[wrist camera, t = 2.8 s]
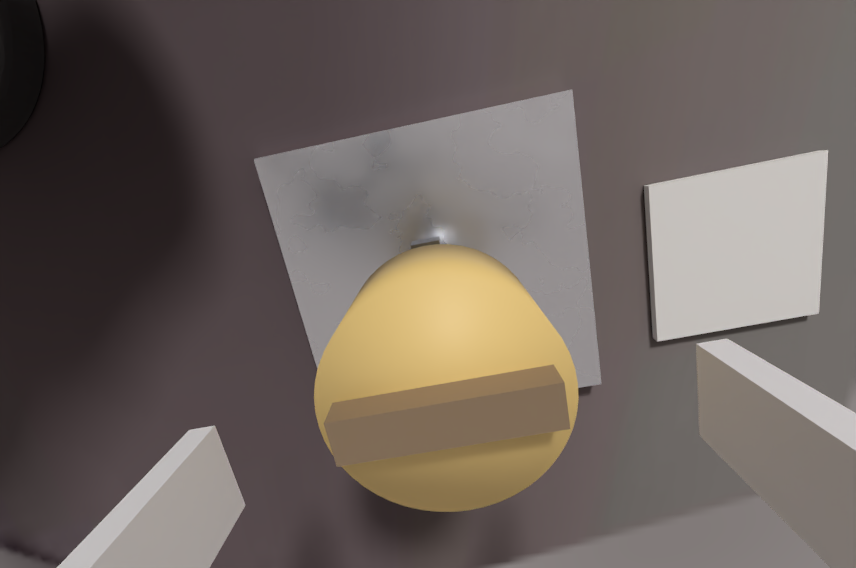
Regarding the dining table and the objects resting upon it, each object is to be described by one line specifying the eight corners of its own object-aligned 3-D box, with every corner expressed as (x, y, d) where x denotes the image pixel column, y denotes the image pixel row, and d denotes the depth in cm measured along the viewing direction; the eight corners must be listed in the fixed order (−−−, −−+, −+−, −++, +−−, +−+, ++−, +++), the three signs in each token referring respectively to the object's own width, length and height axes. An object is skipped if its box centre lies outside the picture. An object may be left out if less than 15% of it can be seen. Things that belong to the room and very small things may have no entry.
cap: (373, 431, 18) (344, 556, 12) (327, 264, 16) (266, 320, 10) (547, 402, 17) (603, 518, 12) (522, 226, 15) (575, 261, 10)
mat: (652, 337, 27) (657, 341, 27) (643, 185, 25) (648, 186, 24) (810, 310, 27) (818, 313, 26) (818, 150, 24) (828, 150, 23)
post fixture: (339, 418, 29) (293, 541, 20) (262, 159, 25) (151, 155, 15) (594, 375, 28) (677, 483, 18) (565, 93, 23) (656, 41, 14)
